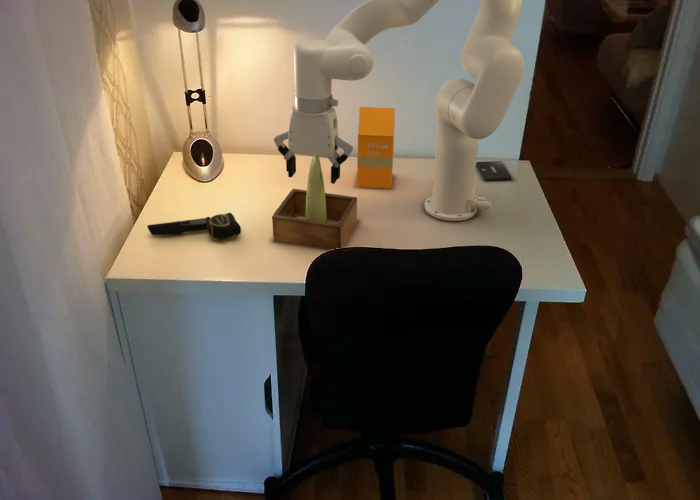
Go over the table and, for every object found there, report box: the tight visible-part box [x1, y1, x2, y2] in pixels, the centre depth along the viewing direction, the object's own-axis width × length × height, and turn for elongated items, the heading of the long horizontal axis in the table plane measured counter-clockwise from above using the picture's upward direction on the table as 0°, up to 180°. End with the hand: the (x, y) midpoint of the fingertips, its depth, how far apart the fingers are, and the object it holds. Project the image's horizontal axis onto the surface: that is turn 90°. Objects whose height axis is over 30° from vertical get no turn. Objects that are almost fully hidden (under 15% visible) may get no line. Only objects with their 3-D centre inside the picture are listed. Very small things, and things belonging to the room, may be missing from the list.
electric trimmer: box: [147, 216, 211, 236], centre depth 157 cm, size 4×16×3 cm, turn 103°
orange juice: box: [356, 106, 396, 190], centre depth 174 cm, size 8×9×20 cm
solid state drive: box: [476, 160, 513, 182], centre depth 185 cm, size 7×10×1 cm
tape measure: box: [207, 212, 242, 240], centre depth 156 cm, size 7×7×4 cm
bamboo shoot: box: [305, 156, 328, 223], centre depth 153 cm, size 6×5×20 cm
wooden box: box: [271, 188, 358, 251], centre depth 157 cm, size 16×14×6 cm
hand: (313, 177), depth 151 cm, fingers open, 9 cm apart
